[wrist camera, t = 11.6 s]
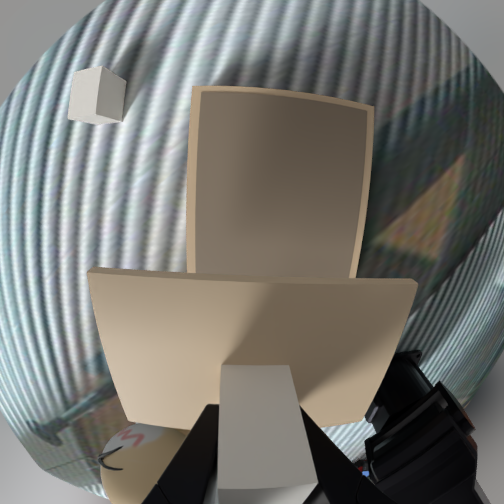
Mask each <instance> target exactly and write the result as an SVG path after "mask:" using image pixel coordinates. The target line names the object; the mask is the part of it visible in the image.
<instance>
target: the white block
mask: <svg viewBox="0 0 504 504" xmlns="http://www.w3.org/2000/svg"><path fill="white" fill-rule="evenodd" d="M125 89H126V81H125V80H124V79H122V78H121V77H119V76H118V75H116V74H114V73H113V72H111V71H110V70H108V69H107V68H105V67H104V66H98V67H93V68H89V69H85V70H81V71H77V72H74V76H73V82H72V88H71V95H70V102H69V111H68V119H70V120H75V121H81V122H86V123H91V124H96V125H100V124H108V123H117V122H122V117H123V107H124V98H125Z"/></svg>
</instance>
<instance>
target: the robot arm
mask: <svg viewBox="0 0 504 504" xmlns="http://www.w3.org/2000/svg"><path fill="white" fill-rule="evenodd" d="M421 356H422V352H421V351H420V350H415V351H409V352H403V353H397V354H394V355H393V357H392V360H391V362H390V364H389V367H388V369H387V371H386V373H385V376H384V378H383V380H382V382H381V384H380V386H379V388H378V390H377V392H376V394H375V396H374V398H373V400H372V402H371V404H370V406H369V408H368V410H367V412H366V414H365V418H366V421H367V422H368V423H372V424H373V427H374V429H375V431H376V434H375V435H373V436H372V437H371V438H370V437H369V438H368V439H366V440H365V441H364V442H365V450H366V457H367V463H368V470H369V477H370V479H371V481H372V482H371V481H370V480H369V479H368V478H367V477H366V476H365V475H363V473H362V472H361V471H360V470H359V469H358V468H357V467H356V466H355V465H354V464H353V463H352V462H351V461H350V460H349V459H348V458H347V457H346V456H345V455H344V453H343V452H342V451H341V450H340V449H339V448H338V447H337V446H336V445H335V444H334V443H333V442H332V441H331V440H330V438H329V437H328V436H327V435H326V434H325V433H324V432H323V431H322V430H321V429H320V427H319V426H318V425H317V424H316V423H315V422H314V421H313V420H312V418H311V417H310V416H309V415H308V414H307V413H306V412H305V411H304V409H303V408H302V407H301V406H300V405H299V407H300V411H301V415H302V419H303V423H304V427H305V431H306V435H307V439H308V443H309V447H310V451H311V455H312V459H313V463H314V467H315V471H316V475H317V480H318V484H317V485H316V486H315V488H314V489H313V490H312V492H311V493H310V494H309V496H308V497H307V498H306V499H305V501H304V502H303V503H302V504H491V503H490V502H489V500H488V498H487V497H486V495H485V493H484V492H483V490H482V488H481V487H480V485H479V483H478V482H477V480H476V469H477V444H476V442H475V441H474V439H473V438H472V437H471V435H470V434H471V433H473V432H474V431H475V430H476V429H475V427H474V425H473V424H472V422H471V420H470V419H469V417H468V415H467V413H466V412H465V410H464V409H463V407H462V406H461V404H460V403H459V402H458V400H457V399H456V398H455V397H454V395H453V394H452V393H451V392H450V391H449V390H448V389H447V388H446V387H445V386H444V385H443V384H442V383H441V382H440V381H439V382H438V383H436V384H435V387H433V386H432V384H431V383H430V382H429V380H428V379H427V378H426V376H425V375H424V373H423V372H422V371H421V369H420V368H419V367H418V366H417V364H418V362H419V360H420V358H421ZM218 432H219V404H207V405H206V406H205V408H204V409H203V411H202V413H201V414H200V416H199V418H198V419H197V421H196V422H195V424H194V426H193V427H192V429H191V430H190V432H189V433H188V435H187V437H186V438H185V440H184V441H183V443H182V444H181V446H180V448H179V449H178V451H177V452H176V454H175V455H174V457H173V458H172V460H171V461H170V463H169V464H168V466H167V467H166V469H165V470H164V472H163V473H162V475H161V476H160V478H159V479H158V481H157V484H155V485H154V487H153V488H152V489H151V491H150V492H149V494H148V495H147V496H146V498H145V499H144V500H143V502H142V503H141V504H214V503H215V497H216V490H217V483H218ZM373 483H374V484H375V485H374V484H373Z"/></svg>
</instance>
